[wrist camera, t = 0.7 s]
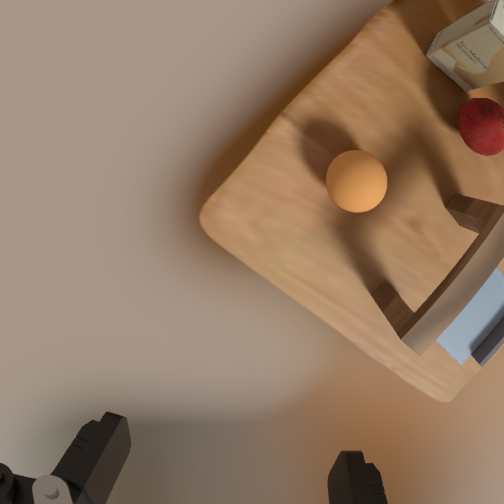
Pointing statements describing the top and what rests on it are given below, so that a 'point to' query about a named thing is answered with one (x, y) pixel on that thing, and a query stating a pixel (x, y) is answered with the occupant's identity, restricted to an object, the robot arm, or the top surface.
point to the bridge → (450, 277)
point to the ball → (356, 181)
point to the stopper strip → (490, 344)
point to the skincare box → (472, 47)
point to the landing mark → (475, 319)
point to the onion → (482, 126)
